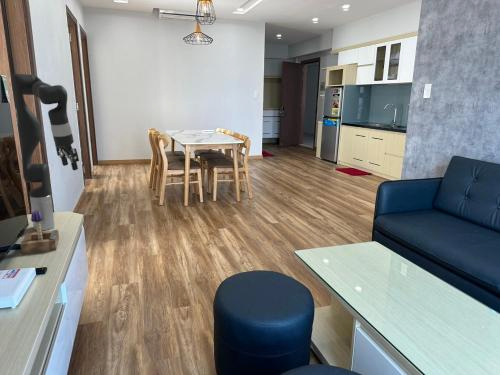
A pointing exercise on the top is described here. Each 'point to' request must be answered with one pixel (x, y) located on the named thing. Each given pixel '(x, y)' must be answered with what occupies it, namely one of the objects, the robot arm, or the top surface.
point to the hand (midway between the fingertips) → (70, 167)
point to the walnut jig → (40, 242)
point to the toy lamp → (37, 222)
